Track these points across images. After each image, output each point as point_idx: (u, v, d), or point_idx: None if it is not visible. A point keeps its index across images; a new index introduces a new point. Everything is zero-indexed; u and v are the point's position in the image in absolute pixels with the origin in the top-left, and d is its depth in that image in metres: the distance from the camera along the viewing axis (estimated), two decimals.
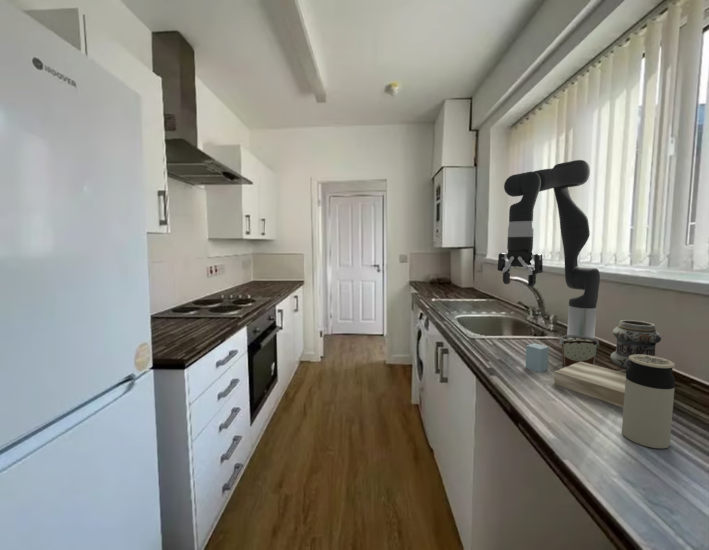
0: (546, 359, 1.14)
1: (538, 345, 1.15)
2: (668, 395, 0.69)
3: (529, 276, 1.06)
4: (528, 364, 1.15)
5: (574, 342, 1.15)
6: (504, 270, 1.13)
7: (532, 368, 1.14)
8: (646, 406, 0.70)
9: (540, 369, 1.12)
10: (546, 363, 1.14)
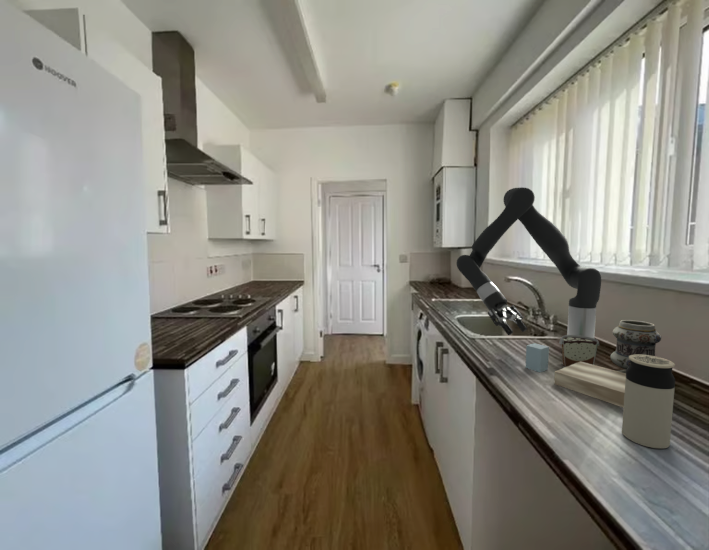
0: (546, 359, 1.14)
1: (538, 345, 1.15)
2: (668, 395, 0.69)
3: None
4: (528, 364, 1.15)
5: (574, 342, 1.15)
6: None
7: (532, 368, 1.14)
8: (646, 406, 0.70)
9: (540, 369, 1.12)
10: (546, 363, 1.14)
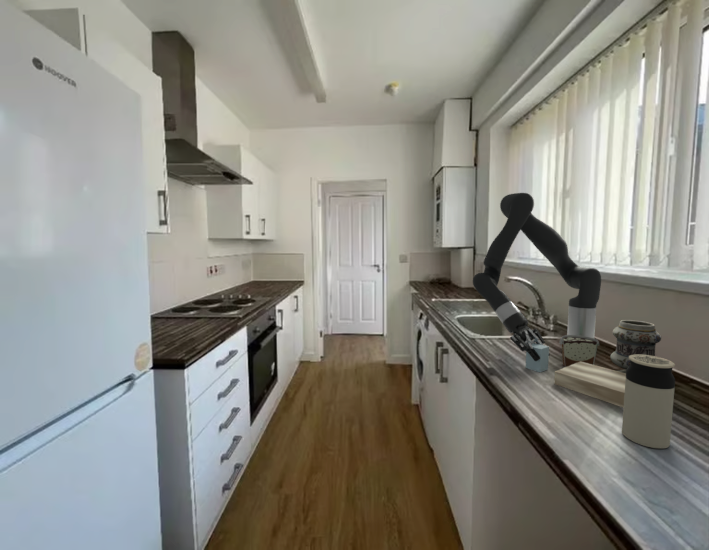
0: (546, 359, 1.13)
1: (538, 345, 1.15)
2: (668, 395, 0.69)
3: None
4: (528, 364, 1.15)
5: (574, 342, 1.15)
6: None
7: (532, 368, 1.14)
8: (646, 406, 0.70)
9: (540, 369, 1.12)
10: (546, 363, 1.14)
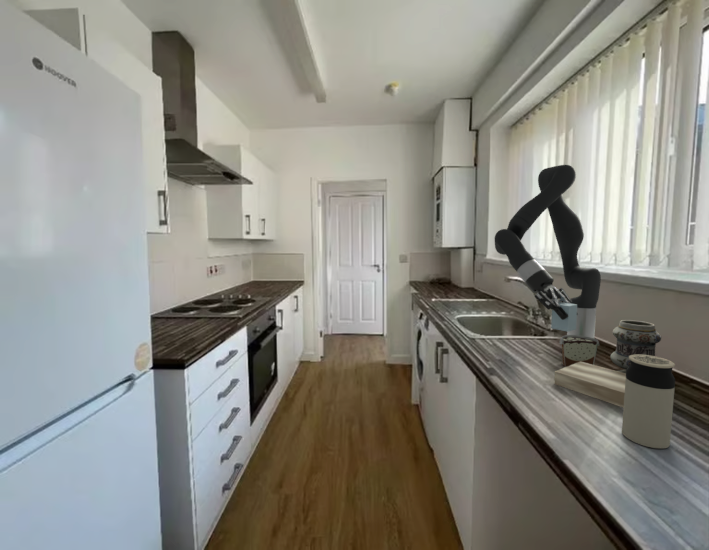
0: (574, 318, 1.05)
1: (565, 303, 1.07)
2: (668, 395, 0.69)
3: None
4: (554, 324, 1.07)
5: (574, 342, 1.15)
6: None
7: (559, 328, 1.06)
8: (646, 406, 0.70)
9: (568, 328, 1.04)
10: (574, 322, 1.05)
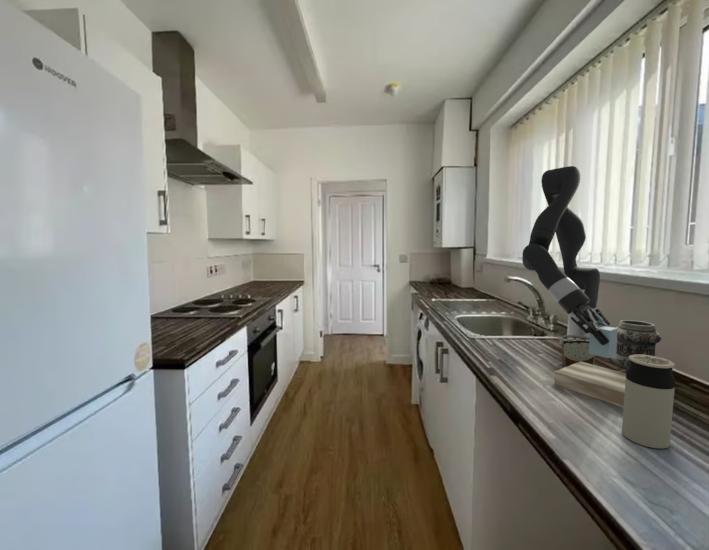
0: (615, 343, 0.96)
1: (604, 327, 0.98)
2: (668, 395, 0.69)
3: None
4: (592, 349, 0.98)
5: (574, 342, 1.15)
6: None
7: (598, 353, 0.97)
8: (646, 406, 0.70)
9: (608, 354, 0.95)
10: (614, 347, 0.97)
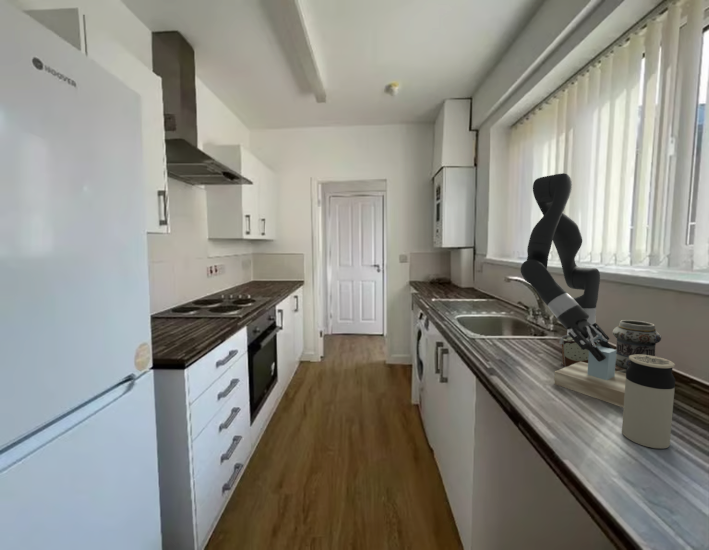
0: (613, 364, 0.97)
1: (603, 348, 0.99)
2: (668, 395, 0.69)
3: None
4: (591, 370, 0.99)
5: (574, 342, 1.15)
6: None
7: (597, 375, 0.98)
8: (646, 406, 0.70)
9: (607, 376, 0.96)
10: (613, 369, 0.97)
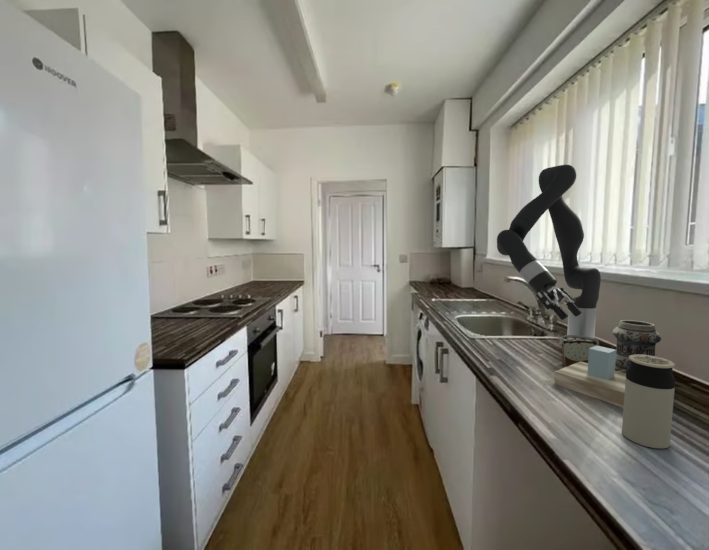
0: (613, 364, 0.97)
1: (603, 348, 0.99)
2: (668, 395, 0.69)
3: None
4: (591, 370, 0.99)
5: (574, 342, 1.15)
6: None
7: (597, 375, 0.98)
8: (646, 406, 0.70)
9: (607, 376, 0.96)
10: (613, 369, 0.97)
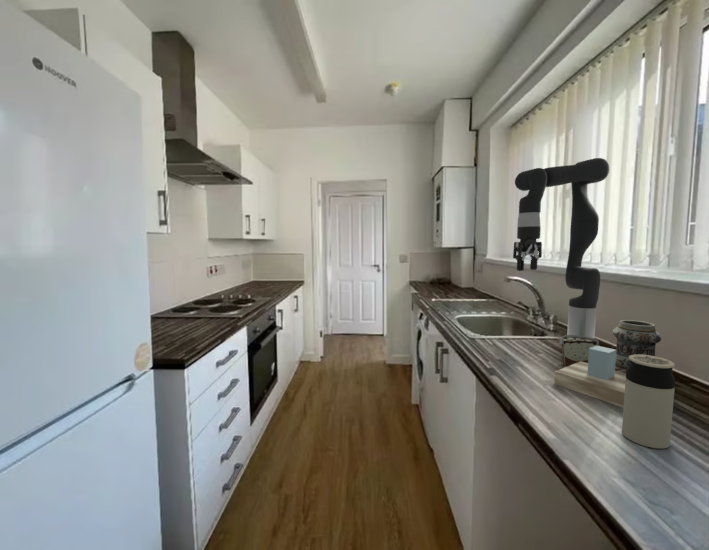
0: (613, 364, 0.97)
1: (603, 348, 0.99)
2: (668, 395, 0.69)
3: None
4: (591, 370, 0.99)
5: (574, 342, 1.15)
6: None
7: (597, 375, 0.98)
8: (646, 406, 0.70)
9: (607, 376, 0.96)
10: (613, 369, 0.97)
